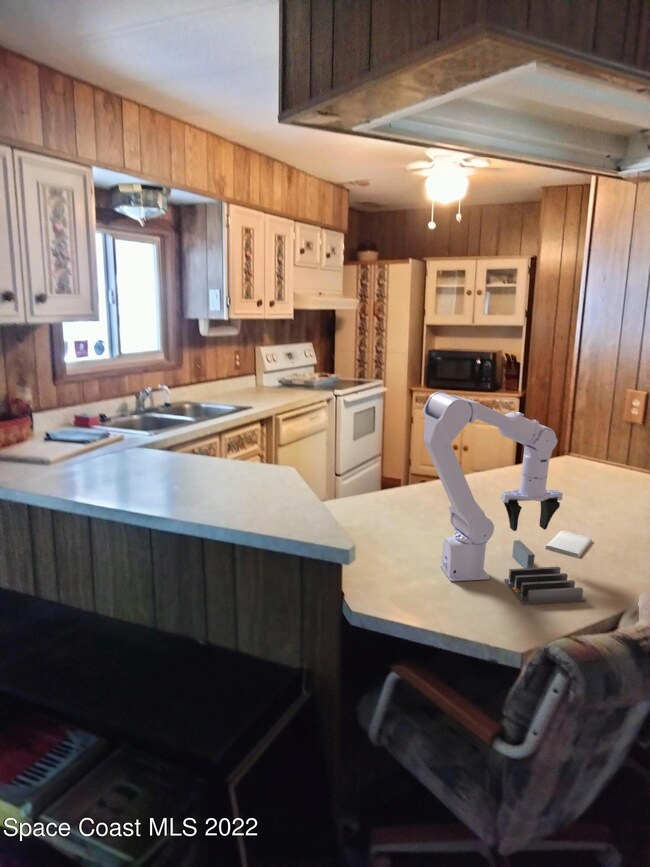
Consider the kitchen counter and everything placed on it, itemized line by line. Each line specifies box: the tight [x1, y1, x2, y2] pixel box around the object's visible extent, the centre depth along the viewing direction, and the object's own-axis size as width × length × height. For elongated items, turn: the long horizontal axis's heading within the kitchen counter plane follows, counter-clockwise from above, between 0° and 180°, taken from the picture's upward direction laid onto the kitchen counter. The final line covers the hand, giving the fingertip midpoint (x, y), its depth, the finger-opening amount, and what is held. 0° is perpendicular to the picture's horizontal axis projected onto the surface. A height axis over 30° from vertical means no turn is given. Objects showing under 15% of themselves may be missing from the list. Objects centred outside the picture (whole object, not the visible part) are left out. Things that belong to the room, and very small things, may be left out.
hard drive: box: [545, 530, 593, 559], centre depth 159 cm, size 2×8×12 cm
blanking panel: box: [511, 539, 536, 568], centre depth 148 cm, size 8×2×4 cm, turn 7°
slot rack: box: [503, 566, 587, 606], centre depth 135 cm, size 14×10×3 cm
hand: (528, 528), depth 146 cm, fingers open, 7 cm apart
